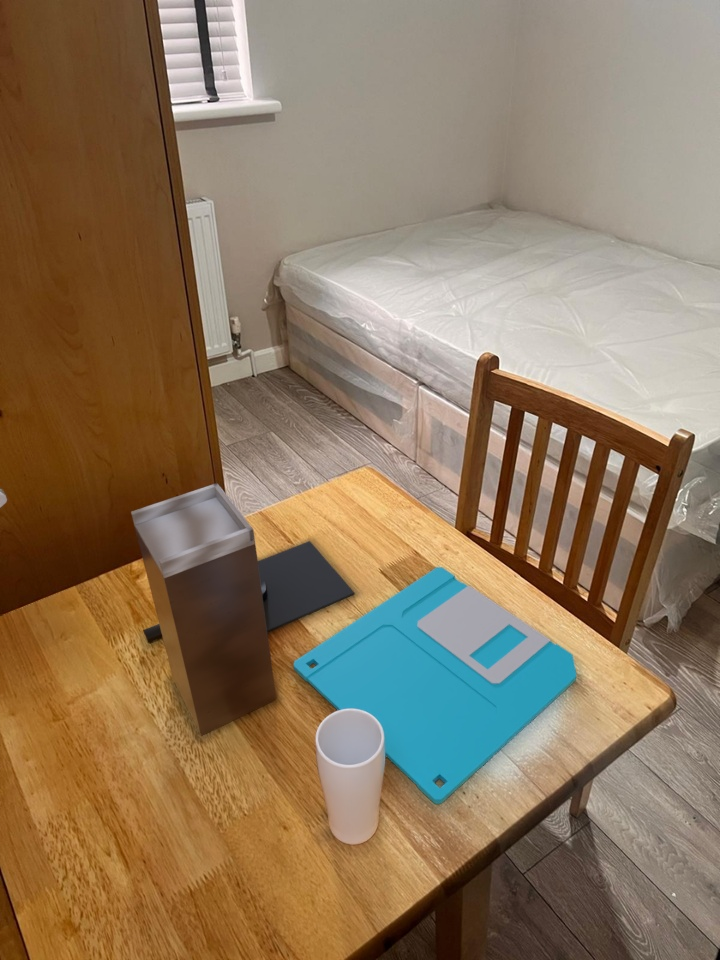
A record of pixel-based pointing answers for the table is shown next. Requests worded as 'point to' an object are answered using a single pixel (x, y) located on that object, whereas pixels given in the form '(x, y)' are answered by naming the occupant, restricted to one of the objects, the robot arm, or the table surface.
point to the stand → (208, 603)
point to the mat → (299, 584)
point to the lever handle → (155, 631)
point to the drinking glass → (351, 772)
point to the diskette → (440, 677)
